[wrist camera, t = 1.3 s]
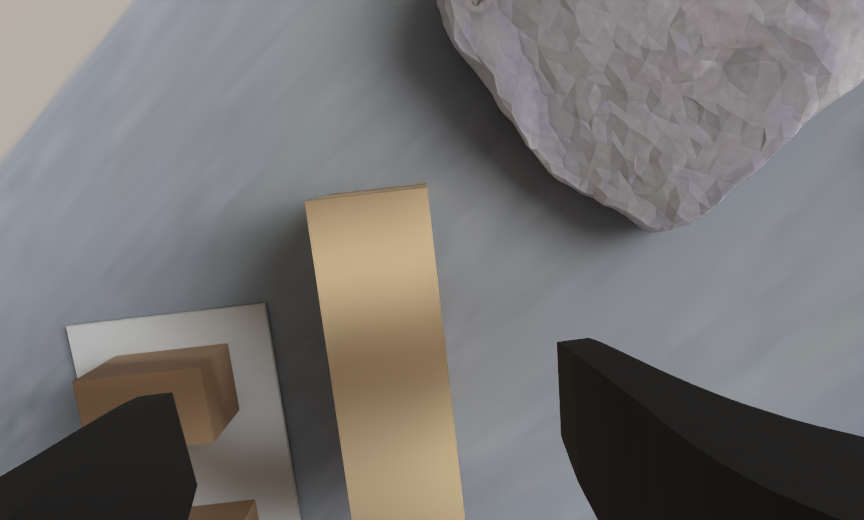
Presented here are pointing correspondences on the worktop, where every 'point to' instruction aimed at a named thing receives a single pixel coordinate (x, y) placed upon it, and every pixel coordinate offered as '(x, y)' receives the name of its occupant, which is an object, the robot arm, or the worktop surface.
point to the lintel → (387, 352)
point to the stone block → (659, 88)
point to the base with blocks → (201, 399)
